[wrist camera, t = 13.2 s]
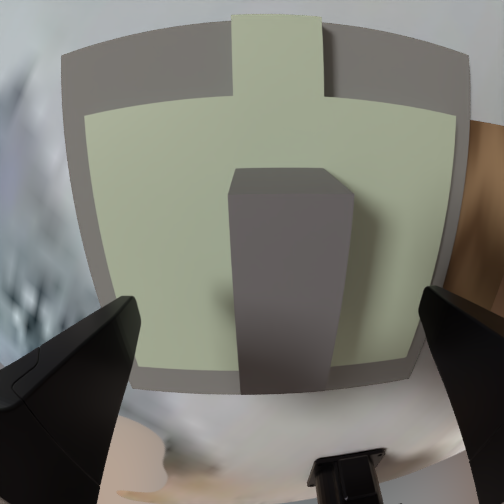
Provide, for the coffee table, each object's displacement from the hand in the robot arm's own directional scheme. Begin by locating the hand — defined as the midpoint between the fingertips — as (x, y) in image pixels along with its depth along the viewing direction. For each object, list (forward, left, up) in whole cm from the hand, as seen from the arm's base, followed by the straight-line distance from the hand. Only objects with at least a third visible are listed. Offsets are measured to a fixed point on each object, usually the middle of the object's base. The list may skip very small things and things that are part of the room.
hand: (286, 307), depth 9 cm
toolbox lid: (+1, 0, -4) cm, 4 cm away
